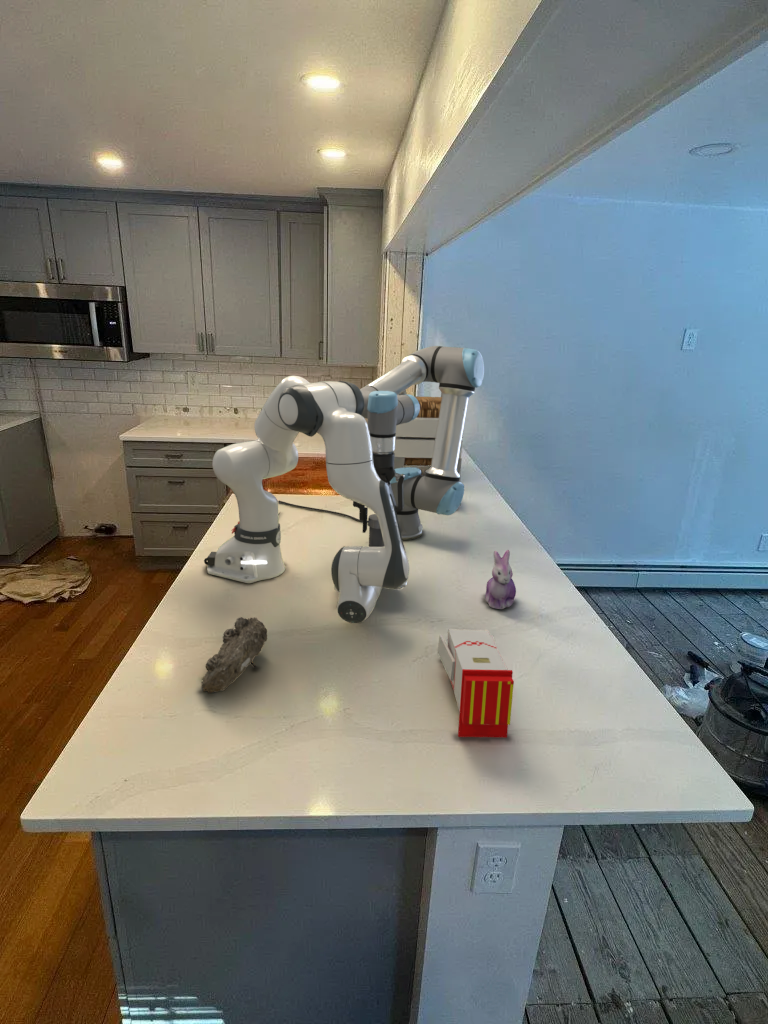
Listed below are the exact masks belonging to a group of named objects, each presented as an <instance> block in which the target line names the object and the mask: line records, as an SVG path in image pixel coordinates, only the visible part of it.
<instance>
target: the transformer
mask: <svg viewBox="0 0 768 1024" xmlns="http://www.w3.org/2000/svg"><path fill="white" fill-rule="evenodd" d="M440 393H441V394H440V396H415V395H413V396H414V397H415V398H416V399H417V400H418V402H419V405H420V411H419V414H418V416H417V417H416V418H415V419H414V420H412V421H410V422H407V423H403V424H399V425H396V436H395V450H394V451H393V452H394V453H395V458H394V469H397V468H405V466H406V467H409V466H411V467H417V466H418V467H431V463H432V457H433V450H434V444H435V438H436V432H437V425H438V419H439V413H440V406H441V400H442V392H441V391H440ZM402 394H408V393H407V389H406V390H405V391H403V392H402V393H400V394H399V395H402ZM464 429H465V428H464ZM464 429H463V433H464V431H465V430H464ZM463 438H464V434H463V435H462V439H463ZM463 442H464V441H463V440H462V441H461V447H460V452H459V458H458V464H457V472H458V474H459V475H460V476H461V472H462V461H463V460H462V453H463ZM459 482H461V479H460V480H459Z"/></svg>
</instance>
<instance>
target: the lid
mask: <svg viewBox="0 0 768 1024" xmlns="http://www.w3.org/2000/svg"><path fill="white" fill-rule="evenodd" d="M367 521H368V523H367V526H368V527H371V528H376V529H381V528H380V524H379V520H378V517H377V515H376V514H375V513H372V514H370V515H369V516H368V517H367Z"/></svg>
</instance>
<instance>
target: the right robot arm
mask: <svg viewBox="0 0 768 1024" xmlns="http://www.w3.org/2000/svg"><path fill="white" fill-rule="evenodd" d="M484 377H485V363H484V358H483V356H482V353H481V352H480V351H479V350H477V349H475V348H468V347H456V346H441V345H432V346H428V347H424V348H421V349H418V350H416V351H414V352H412V353H409V354H407V355H406V356H405V357H404V358H402V360H401V361H400V364H398V365H396V366H395V367H393V368H391V369H389V371H387V372H385V373H383V374H382V375H381V376H379V377H377V378H376V379H374V380H372V381H371V382H370V383H369V382H368V384H366V385H365V386H363V387H361V388H359V389H360V390H361V392H362V395H363V398H364V409H363V413H362V415H361V416H363V417H364V418H365V419H367V424H368V428H369V432H370V437H371V443H372V450H373V463H374V467H375V470H376V473H377V474H378V476H379V478H380V479H381V480H382V481H384V482H386V483H387V484H388V486H389V489H390V491H391V494H392V498H393V502H394V506H395V510H396V514H397V519H398V523H399V528H400V532H401V537H402V541H410V540H415V539H418V538H420V537H421V536H422V535H423V529H424V527H423V523H421V518H420V515H419V510H421V511H425V512H429V513H433V514H434V513H435V514H437V515H443V516H452V515H453V514H454V513H456V512H457V510H458V509H459V508H460V506H461V505H462V502H463V499H464V495H465V485H464V483H462V482H461V474H460V475H459V474H458V472H457V464H458V458H459V452H460V447H461V441H463V438H462V435H463V436H464V432H463V429H465V421H466V417H467V410H468V404H469V399H470V397H471V396H473V395H474V394H475V390H476V388H480V387H481V386H482V384H483V381H484ZM426 382H427V383H436V384H438V389H439V391H440V393H441V392H442V400H441V406H440V413H439V419H438V425H437V432H436V438H435V444H434V450H433V457H432V463H431V465H430V466H429V468H427V469H426V470H425V471H424V472H425V473H424V474H422V470H421V468H419V467H414V466H411V467H409V466H406V467H404V468H397V469H394V458H395V453H394V452H393V451H394V450H395V436H396V425H399V424H403V423H407V422H410V421H412V420H414V419H415V418H416V417H417V416H418V414H419V411H420V405H419V402H418V400H417V399H416V398H415V397H416V396H415V395H413V394H409V393H407V394H402V395H399V394H400V393H402V392H403V391H405V390H406V391H407V389H409V388H410V387H412V386H417V385H420V384H421V383H426ZM414 396H415V397H414ZM459 480H460V482H459ZM277 501H278V504H279V503H280V504H283V505H287V506H290V507H295V508H300V509H306V510H311V511H317V512H323V513H329V514H334V515H339V516H342V517H347V518H349V519H352V520H354V521H356V522H358V523H359V522H360V523H362V534H363V533H364V534H366V533H367V530H368V517H369V516H368V514H369V513H368V512H369V510H368V509H369V508H368V507H366V506H364V505H362V504H360V503H357V502H355V501H352V506H353V507H354V508H357V509H358V510H359V512H358V513H359V514H358V518H356V517H354V516H352V515H349V514H346V513H342V512H338V511H333V510H328V509H321V508H315V507H311V506H310V507H309V506H303V505H298V504H293V503H290V502H287V501H282V500H277ZM460 504H461V505H460Z"/></svg>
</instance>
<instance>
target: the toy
mask: <svg viewBox="0 0 768 1024" xmlns="http://www.w3.org/2000/svg"><path fill="white" fill-rule="evenodd" d="M446 640H447V643H446V641H445V639H444V636H443V635H442V634H439V637H438V646H437V656H438V657H439V659H440V661H441V663H442V666H443V668H444V670H445V672H446V674H447V677H448V679H449V681H450V684H451V687H452V690H453V693H454V697H455V701H456V705H457V708H458V711H459V714H458V715H459V716H458V730H457V731H458V732H457V737H458V738H508V731H509V726H510V725H511V717H512V707H513V697H514V696H513V695H514V684H515V680H514V679H513V673H514V671H513V670H512V669H508V667H507V665H506V662H505V661H504V659H503V658H502V655H501V653H500V651H499V649H498V647H497V643H496V639H495V637H494V635H493V634H491V632H490V631H489V629H467V628H466V629H465V628H463V629H461V628H460V629H459V628H448V630H447V639H446Z"/></svg>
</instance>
